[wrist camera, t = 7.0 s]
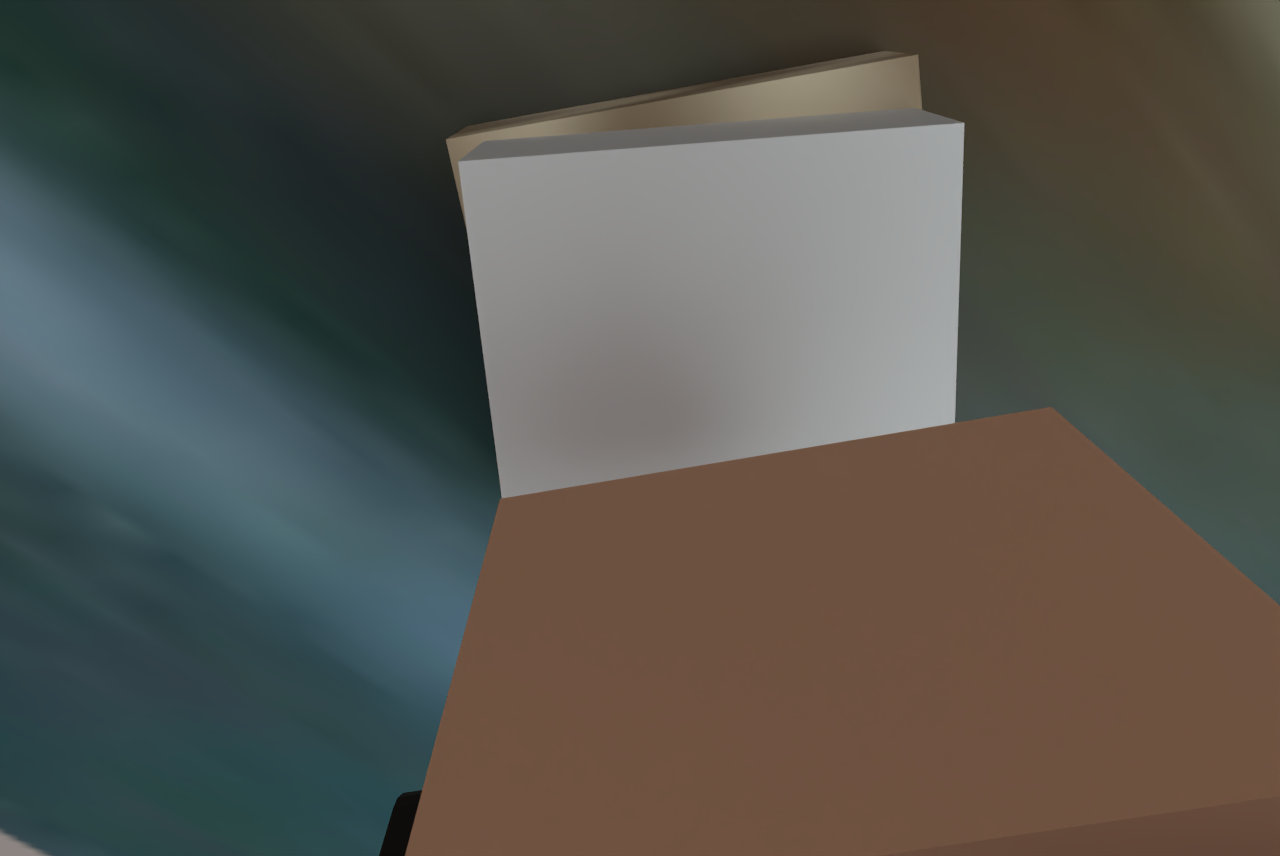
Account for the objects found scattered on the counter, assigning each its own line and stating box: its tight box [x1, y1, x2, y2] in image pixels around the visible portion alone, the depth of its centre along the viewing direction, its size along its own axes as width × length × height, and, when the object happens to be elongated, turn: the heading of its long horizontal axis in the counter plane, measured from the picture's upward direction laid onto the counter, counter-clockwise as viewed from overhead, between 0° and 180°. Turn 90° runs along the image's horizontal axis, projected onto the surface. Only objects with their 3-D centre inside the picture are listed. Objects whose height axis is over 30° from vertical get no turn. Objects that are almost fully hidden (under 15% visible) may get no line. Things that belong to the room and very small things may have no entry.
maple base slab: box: [446, 51, 922, 230], centre depth 28 cm, size 11×11×4 cm
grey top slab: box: [458, 108, 964, 498], centre depth 25 cm, size 10×10×4 cm
